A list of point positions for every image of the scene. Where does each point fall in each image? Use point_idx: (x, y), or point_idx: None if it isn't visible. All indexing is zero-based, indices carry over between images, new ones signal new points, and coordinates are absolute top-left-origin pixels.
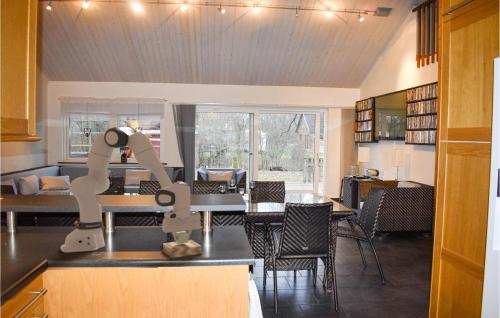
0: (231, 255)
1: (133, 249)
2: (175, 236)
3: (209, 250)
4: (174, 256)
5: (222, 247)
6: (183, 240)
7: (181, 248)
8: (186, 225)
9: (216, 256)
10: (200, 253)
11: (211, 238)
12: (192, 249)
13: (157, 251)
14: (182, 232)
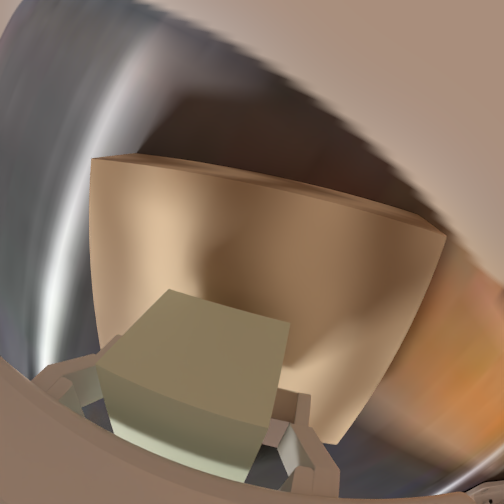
0: (42, 33)
1: (415, 468)
2: (305, 429)
3: (66, 193)
4: (396, 209)
5: (11, 203)
6: (217, 326)
7: (321, 214)
8: (43, 486)
9: (98, 38)
10: (141, 154)
11: (32, 357)
12: (191, 167)
13: (372, 408)
14: (164, 441)
